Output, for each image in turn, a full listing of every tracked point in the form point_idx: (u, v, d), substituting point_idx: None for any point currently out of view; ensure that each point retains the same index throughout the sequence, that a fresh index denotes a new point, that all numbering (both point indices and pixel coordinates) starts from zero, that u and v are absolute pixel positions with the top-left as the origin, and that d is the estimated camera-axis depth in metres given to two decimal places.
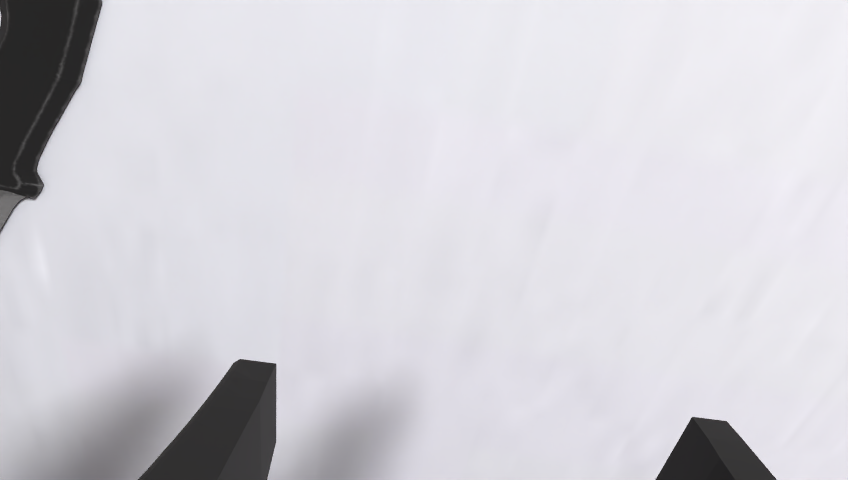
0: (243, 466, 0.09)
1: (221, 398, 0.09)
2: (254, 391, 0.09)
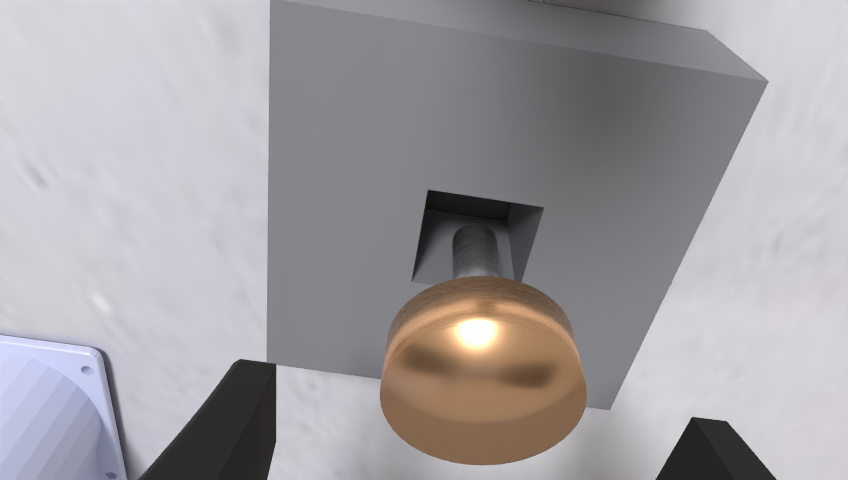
0: (243, 466, 0.09)
1: (221, 398, 0.09)
2: (254, 391, 0.09)
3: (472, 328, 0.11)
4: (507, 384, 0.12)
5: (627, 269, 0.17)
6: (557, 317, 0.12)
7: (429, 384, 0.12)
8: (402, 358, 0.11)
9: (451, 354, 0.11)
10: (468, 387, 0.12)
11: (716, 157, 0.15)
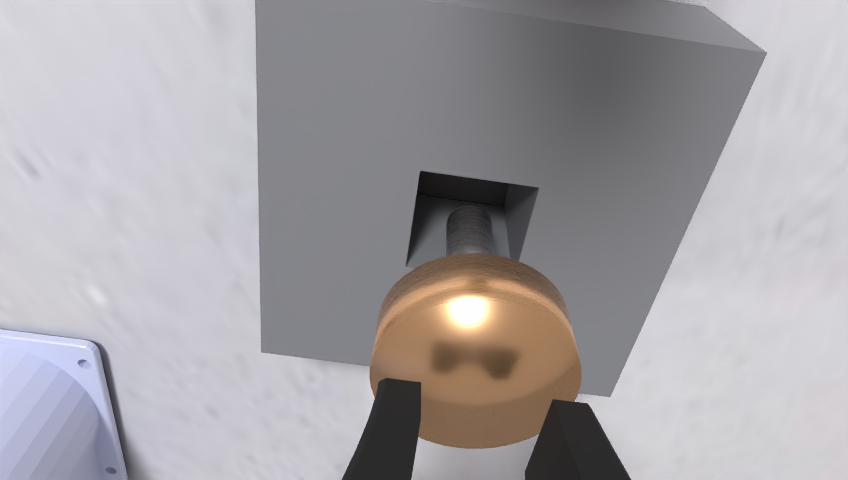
0: None
1: (384, 418, 0.09)
2: (412, 411, 0.09)
3: (462, 305, 0.11)
4: (499, 363, 0.11)
5: (625, 250, 0.16)
6: (550, 294, 0.12)
7: (419, 364, 0.11)
8: (391, 337, 0.11)
9: (441, 332, 0.11)
10: (459, 367, 0.11)
11: (714, 133, 0.14)
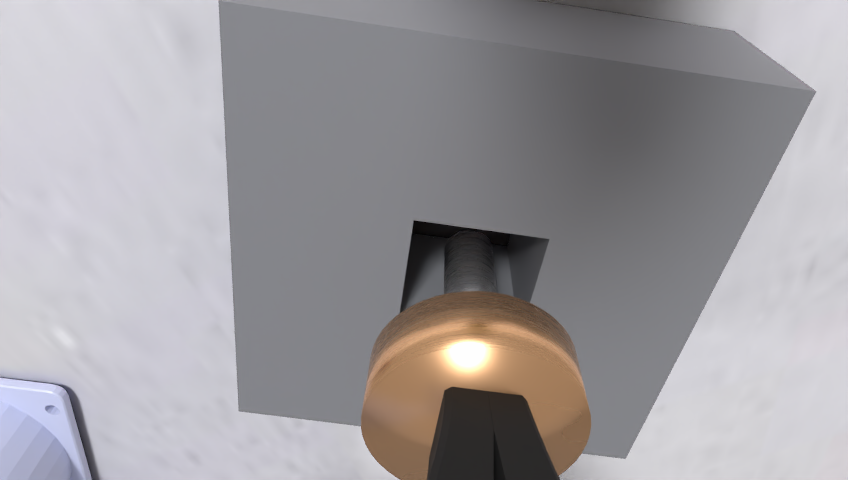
0: None
1: (457, 428, 0.09)
2: (483, 420, 0.09)
3: (461, 351, 0.10)
4: None
5: (645, 307, 0.14)
6: (557, 336, 0.11)
7: (415, 413, 0.11)
8: (384, 385, 0.10)
9: (438, 380, 0.10)
10: None
11: (751, 180, 0.12)
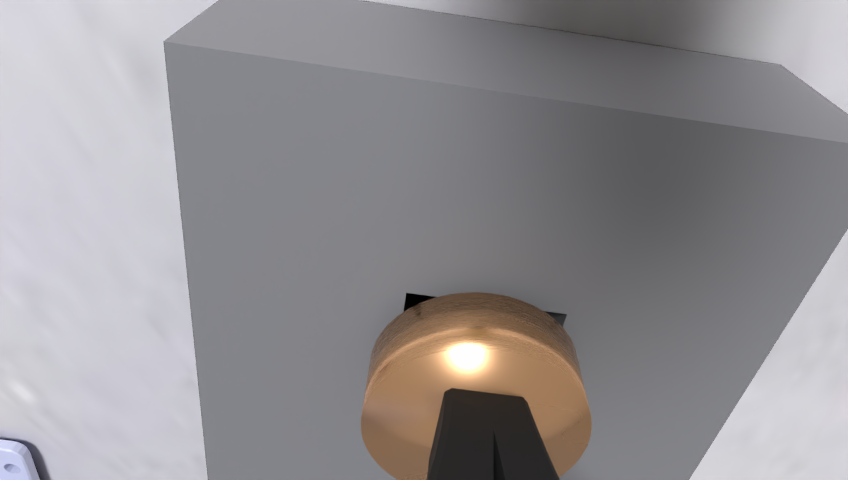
0: None
1: (457, 428, 0.09)
2: (483, 420, 0.09)
3: (461, 353, 0.10)
4: None
5: (677, 388, 0.12)
6: (557, 338, 0.11)
7: (415, 415, 0.10)
8: (383, 387, 0.10)
9: (438, 382, 0.10)
10: None
11: (811, 251, 0.10)
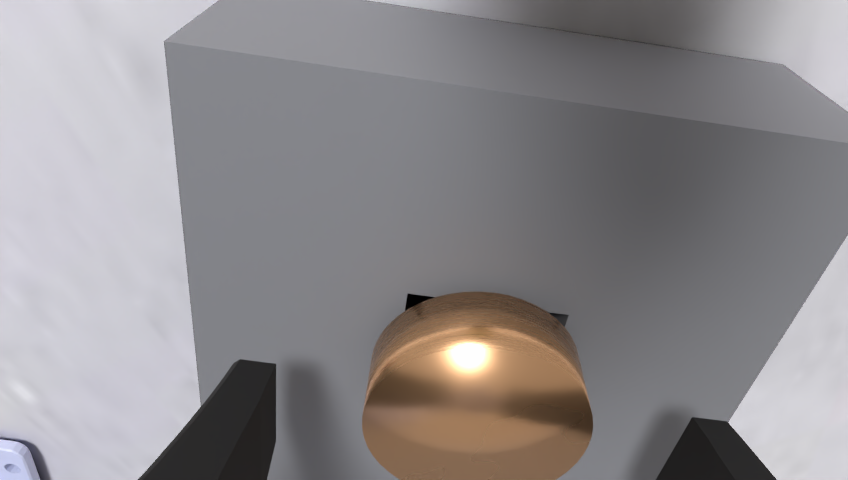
0: (243, 466, 0.09)
1: (221, 398, 0.09)
2: (254, 391, 0.09)
3: (462, 352, 0.10)
4: (504, 413, 0.10)
5: (679, 389, 0.12)
6: (559, 337, 0.11)
7: (416, 414, 0.10)
8: (385, 386, 0.10)
9: (439, 381, 0.10)
10: (460, 417, 0.10)
11: (814, 252, 0.10)
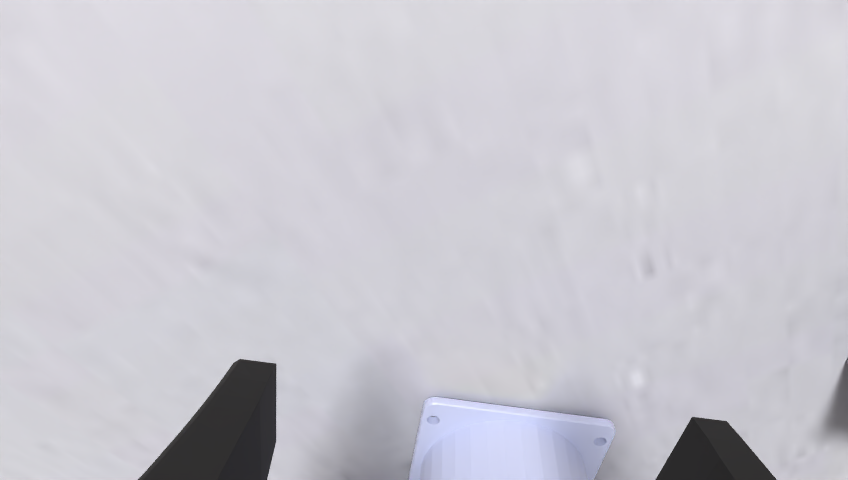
0: (243, 466, 0.09)
1: (221, 398, 0.09)
2: (254, 391, 0.09)
3: None
4: None
5: None
6: None
7: None
8: None
9: None
10: None
11: None
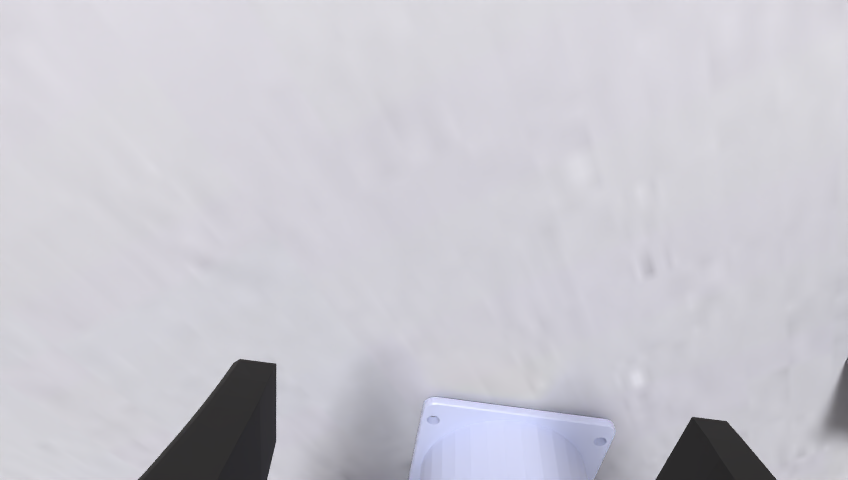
0: (243, 466, 0.09)
1: (221, 398, 0.09)
2: (254, 391, 0.09)
3: None
4: None
5: None
6: None
7: None
8: None
9: None
10: None
11: None
